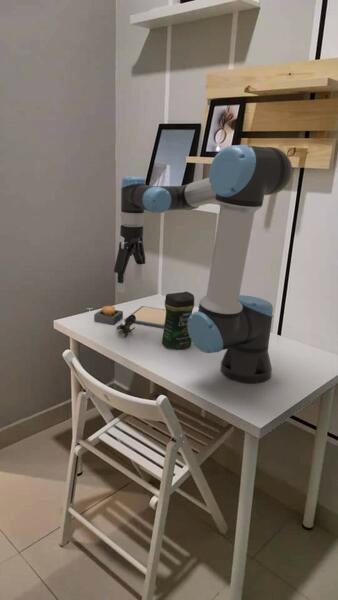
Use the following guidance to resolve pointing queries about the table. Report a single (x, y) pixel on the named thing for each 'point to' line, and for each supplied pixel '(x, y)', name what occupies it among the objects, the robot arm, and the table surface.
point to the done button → (109, 310)
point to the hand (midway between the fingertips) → (129, 286)
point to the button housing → (108, 317)
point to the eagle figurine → (127, 325)
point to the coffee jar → (177, 320)
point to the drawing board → (150, 316)
